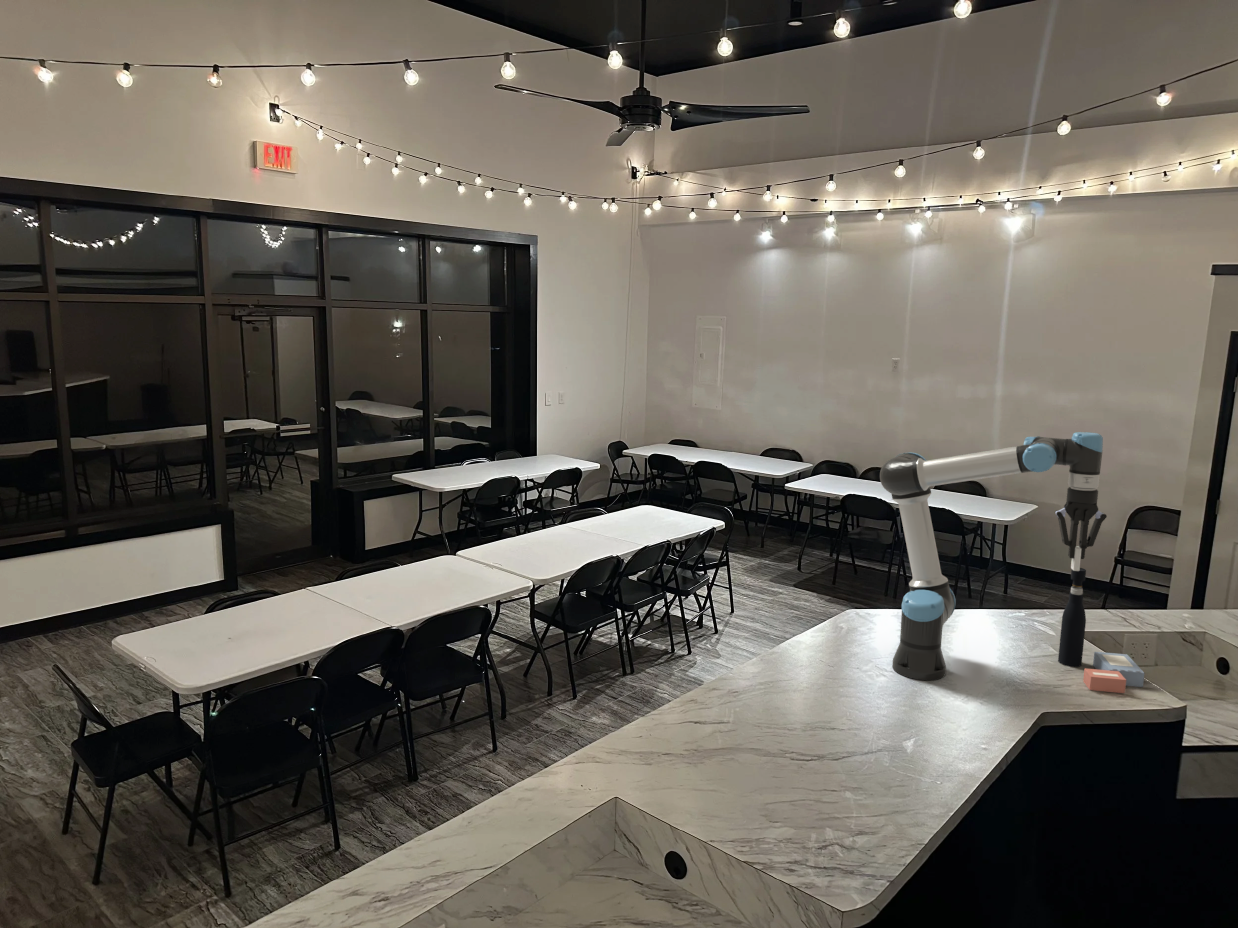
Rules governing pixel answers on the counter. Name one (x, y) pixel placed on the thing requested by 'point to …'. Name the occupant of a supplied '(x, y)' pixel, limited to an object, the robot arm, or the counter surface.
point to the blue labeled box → (1120, 667)
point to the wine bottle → (1073, 624)
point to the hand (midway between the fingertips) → (1075, 569)
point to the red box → (1104, 680)
